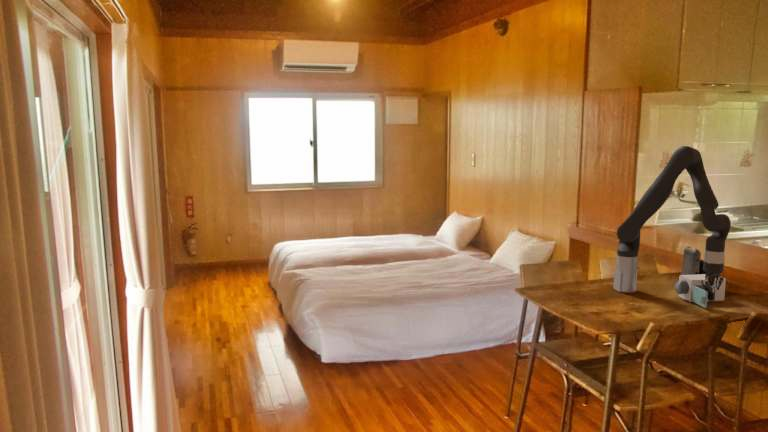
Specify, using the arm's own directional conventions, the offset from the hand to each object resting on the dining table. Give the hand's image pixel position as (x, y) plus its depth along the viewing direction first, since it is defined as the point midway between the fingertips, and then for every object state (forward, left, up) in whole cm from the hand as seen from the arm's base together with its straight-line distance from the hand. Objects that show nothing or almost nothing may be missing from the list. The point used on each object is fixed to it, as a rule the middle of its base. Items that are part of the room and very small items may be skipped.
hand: (711, 300), depth 239 cm
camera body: (+3, +14, -4) cm, 15 cm away
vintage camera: (+16, +30, -4) cm, 35 cm away
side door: (-3, +4, -3) cm, 6 cm away
